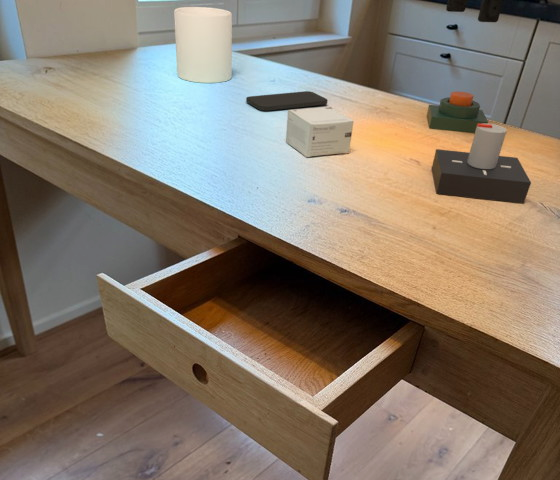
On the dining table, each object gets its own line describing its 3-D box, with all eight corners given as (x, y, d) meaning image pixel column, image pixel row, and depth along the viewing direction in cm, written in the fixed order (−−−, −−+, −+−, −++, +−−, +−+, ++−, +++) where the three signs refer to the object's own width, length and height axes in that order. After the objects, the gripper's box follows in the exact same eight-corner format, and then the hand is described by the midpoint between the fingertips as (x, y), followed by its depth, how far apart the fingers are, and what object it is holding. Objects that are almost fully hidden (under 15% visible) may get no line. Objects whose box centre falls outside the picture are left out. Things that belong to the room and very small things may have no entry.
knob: (493, 161, 81) (505, 122, 78) (497, 170, 78) (510, 131, 75) (465, 158, 82) (475, 119, 78) (468, 167, 79) (479, 128, 75)
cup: (208, 67, 129) (206, 5, 121) (242, 78, 123) (243, 14, 115) (166, 74, 122) (162, 8, 114) (201, 85, 116) (199, 17, 108)
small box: (306, 158, 86) (309, 123, 83) (284, 142, 92) (286, 108, 88) (350, 153, 89) (355, 119, 86) (326, 138, 95) (330, 105, 91)
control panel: (511, 177, 85) (517, 156, 83) (523, 203, 78) (531, 181, 76) (431, 169, 86) (436, 147, 84) (436, 194, 79) (441, 171, 76)
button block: (479, 122, 108) (485, 99, 105) (484, 134, 101) (491, 111, 99) (426, 116, 108) (431, 94, 106) (429, 129, 102) (434, 105, 100)
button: (469, 103, 104) (472, 92, 103) (472, 108, 101) (474, 98, 100) (447, 100, 104) (450, 90, 103) (449, 106, 101) (452, 96, 100)
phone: (243, 96, 108) (310, 90, 114) (243, 101, 109) (309, 95, 115) (261, 107, 103) (330, 100, 109) (261, 112, 104) (329, 105, 110)
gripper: (568, -129, 72) (523, 26, 83) (494, -127, 84) (463, 8, 95) (517, -134, 70) (478, 25, 81) (449, -131, 83) (423, 7, 94)
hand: (470, 16), depth 88 cm, fingers open, 9 cm apart
